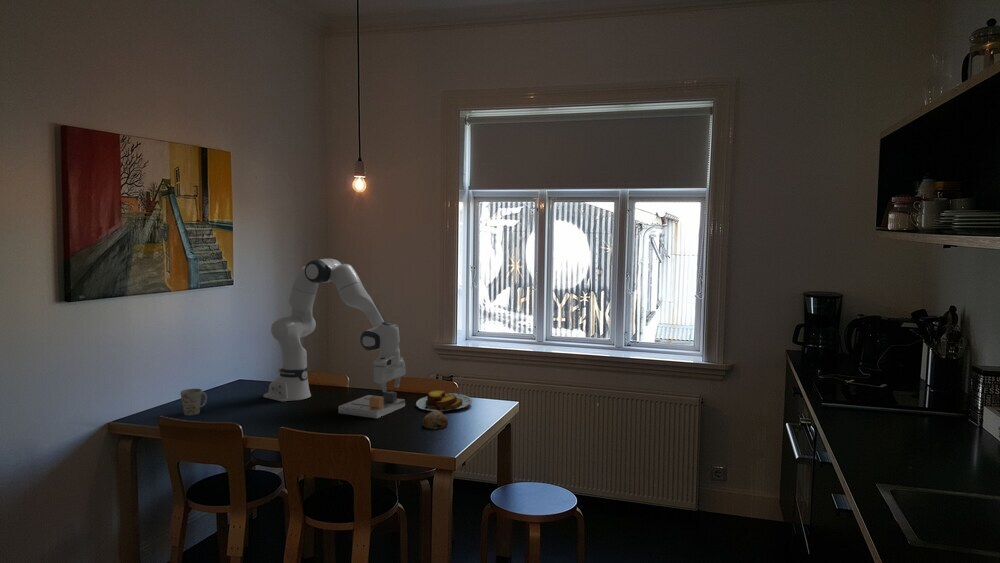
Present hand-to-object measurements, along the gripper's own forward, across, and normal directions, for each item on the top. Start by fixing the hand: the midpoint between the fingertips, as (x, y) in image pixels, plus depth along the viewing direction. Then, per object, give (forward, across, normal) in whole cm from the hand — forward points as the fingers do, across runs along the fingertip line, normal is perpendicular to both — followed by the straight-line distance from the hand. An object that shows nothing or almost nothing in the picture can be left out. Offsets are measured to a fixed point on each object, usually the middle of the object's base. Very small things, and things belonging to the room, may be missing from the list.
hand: (390, 389), depth 295 cm
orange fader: (+5, +10, -1) cm, 11 cm away
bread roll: (+10, +15, +31) cm, 35 cm away
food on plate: (+10, -13, +19) cm, 25 cm away
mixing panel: (+8, +5, -7) cm, 12 cm away
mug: (+8, +41, -74) cm, 85 cm away
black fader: (+5, 0, 0) cm, 5 cm away
